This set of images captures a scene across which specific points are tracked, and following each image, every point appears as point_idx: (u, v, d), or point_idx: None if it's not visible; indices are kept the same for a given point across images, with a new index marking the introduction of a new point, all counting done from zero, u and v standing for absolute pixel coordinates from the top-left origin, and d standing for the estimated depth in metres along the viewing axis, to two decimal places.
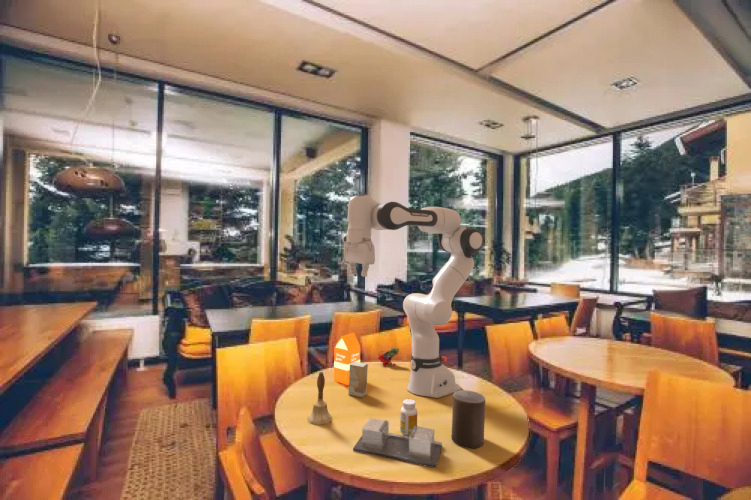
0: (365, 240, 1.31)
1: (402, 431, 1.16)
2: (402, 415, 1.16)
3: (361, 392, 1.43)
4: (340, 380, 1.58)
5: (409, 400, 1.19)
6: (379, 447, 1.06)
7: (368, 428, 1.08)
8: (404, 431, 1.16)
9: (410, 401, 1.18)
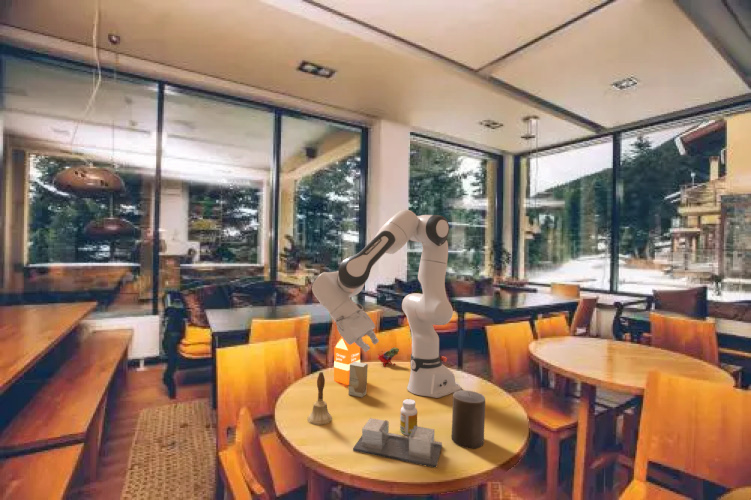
0: None
1: (402, 431, 1.16)
2: (402, 415, 1.16)
3: (361, 392, 1.43)
4: (340, 380, 1.58)
5: (409, 400, 1.19)
6: (379, 447, 1.06)
7: (368, 428, 1.08)
8: (404, 431, 1.16)
9: (410, 401, 1.18)
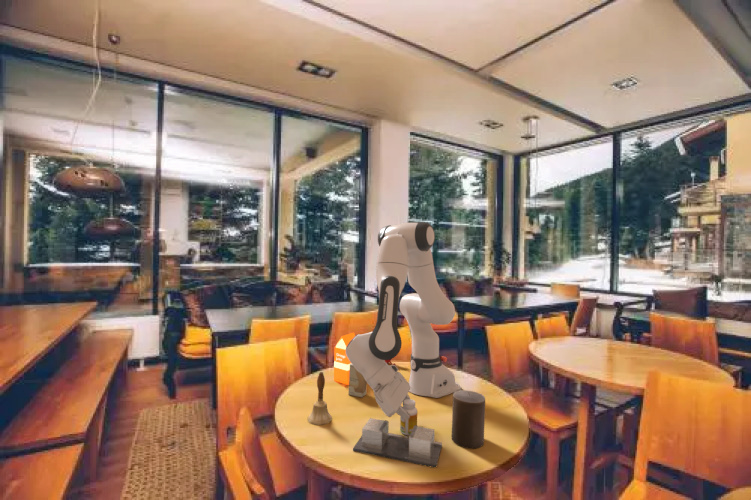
0: None
1: (402, 431, 1.16)
2: None
3: (361, 392, 1.43)
4: (340, 380, 1.58)
5: (409, 400, 1.19)
6: (379, 447, 1.06)
7: (368, 428, 1.08)
8: (404, 431, 1.16)
9: (410, 401, 1.18)
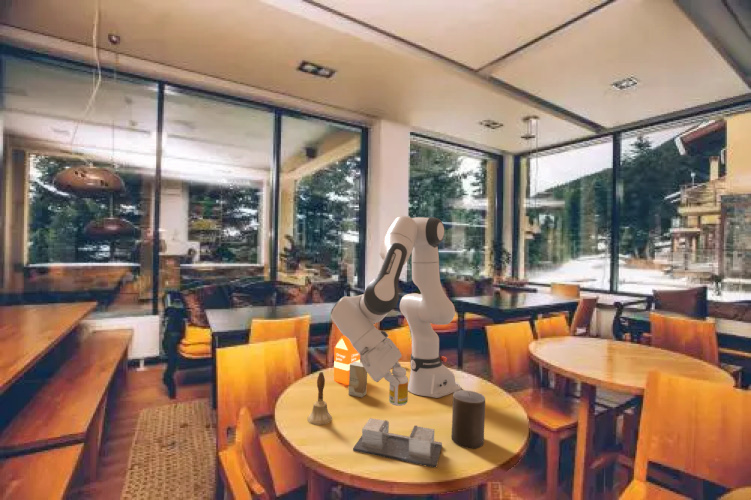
0: None
1: (391, 401, 1.06)
2: (391, 383, 1.06)
3: (361, 392, 1.43)
4: (340, 380, 1.58)
5: (399, 368, 1.08)
6: (379, 447, 1.06)
7: (368, 428, 1.08)
8: (393, 401, 1.05)
9: (400, 369, 1.08)
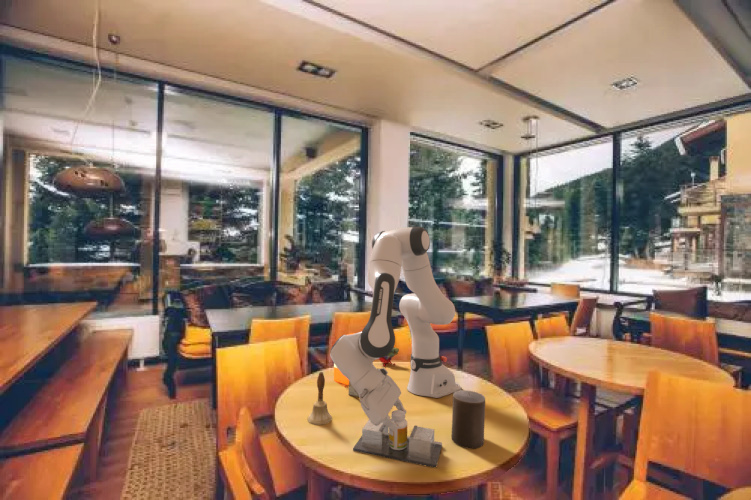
0: None
1: (391, 445, 1.06)
2: None
3: None
4: (340, 380, 1.58)
5: (398, 411, 1.09)
6: (379, 447, 1.06)
7: (368, 428, 1.08)
8: (393, 445, 1.06)
9: (399, 412, 1.08)
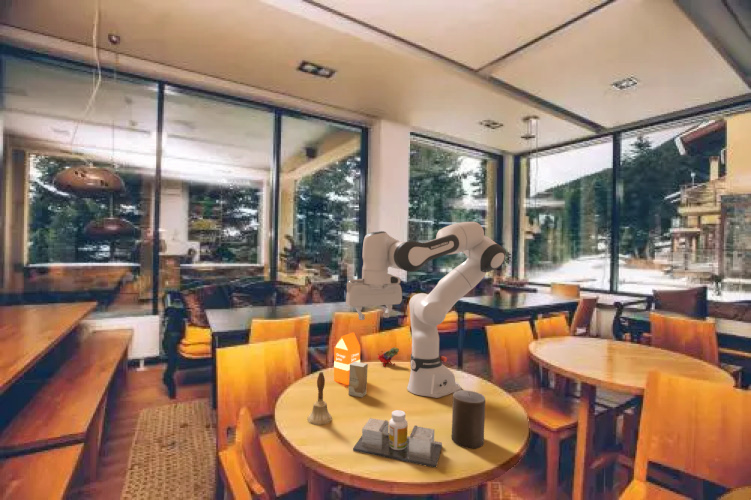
0: None
1: (391, 445, 1.06)
2: (391, 428, 1.06)
3: (361, 392, 1.43)
4: (340, 380, 1.58)
5: (399, 411, 1.09)
6: (379, 447, 1.06)
7: (368, 428, 1.08)
8: (393, 445, 1.06)
9: (400, 412, 1.08)
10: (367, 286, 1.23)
